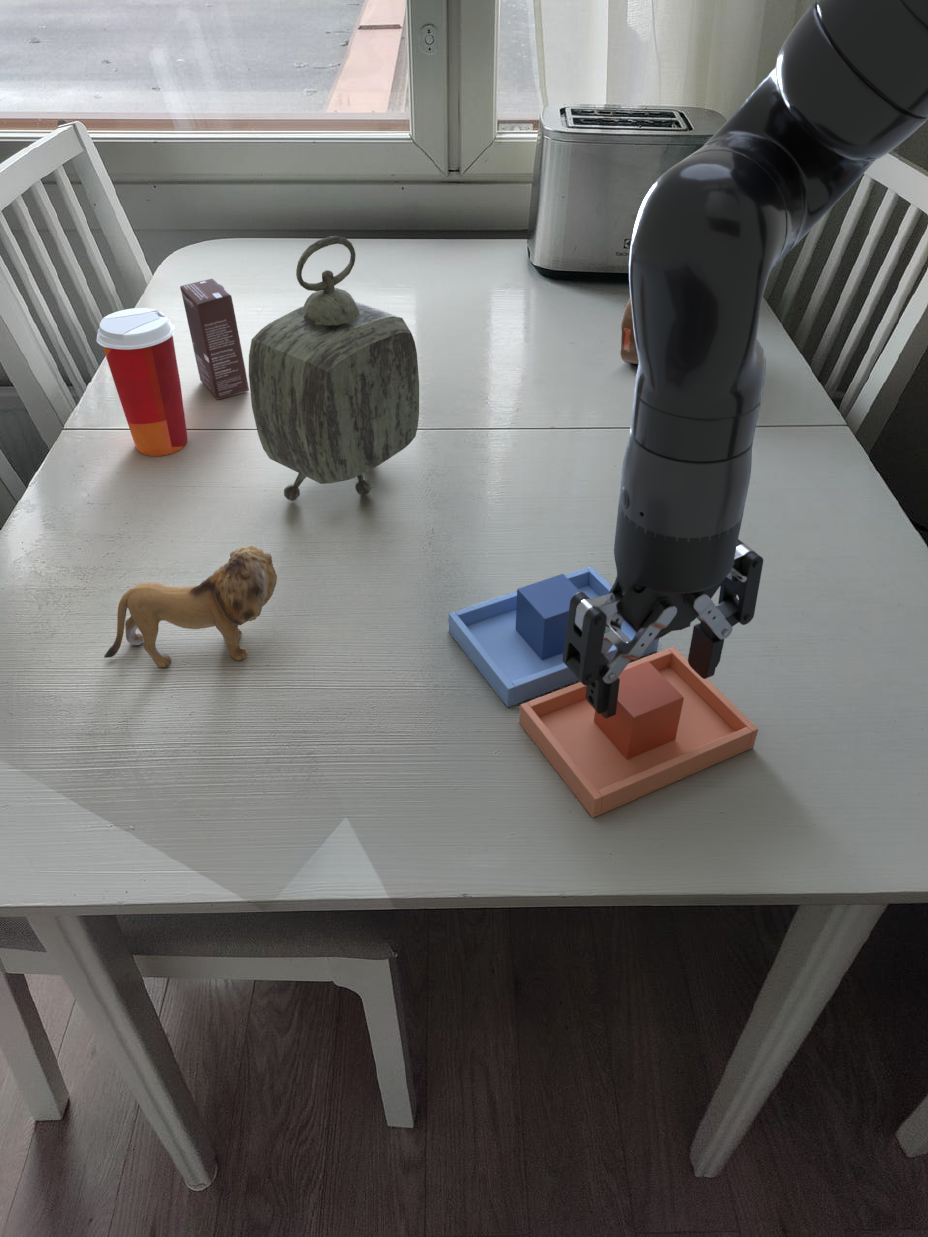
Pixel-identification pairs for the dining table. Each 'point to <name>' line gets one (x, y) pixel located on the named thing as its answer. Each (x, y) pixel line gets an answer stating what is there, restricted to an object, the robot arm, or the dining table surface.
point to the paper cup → (146, 377)
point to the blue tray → (520, 644)
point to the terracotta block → (642, 711)
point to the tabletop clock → (333, 383)
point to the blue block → (545, 614)
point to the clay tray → (613, 780)
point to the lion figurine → (200, 604)
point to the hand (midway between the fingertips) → (652, 689)
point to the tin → (628, 337)
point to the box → (215, 338)
